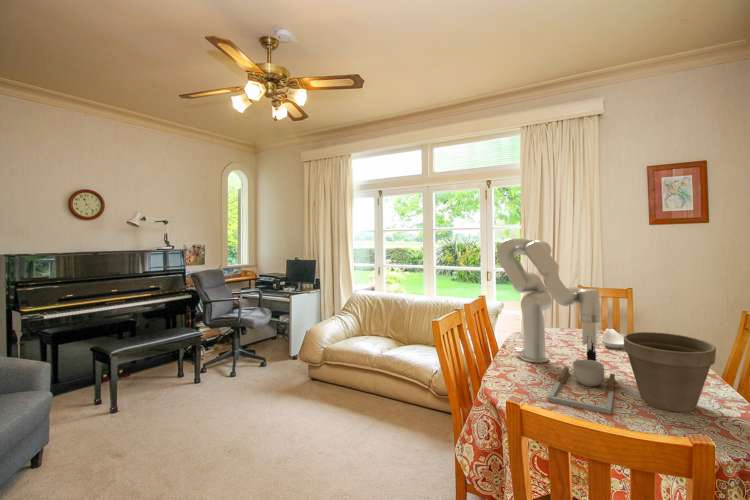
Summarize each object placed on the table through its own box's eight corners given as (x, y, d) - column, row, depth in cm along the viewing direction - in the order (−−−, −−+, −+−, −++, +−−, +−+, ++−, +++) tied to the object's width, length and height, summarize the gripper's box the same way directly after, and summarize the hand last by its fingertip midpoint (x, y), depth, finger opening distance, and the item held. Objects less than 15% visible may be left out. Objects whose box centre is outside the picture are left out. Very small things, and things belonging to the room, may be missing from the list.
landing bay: (547, 401, 132) (547, 397, 132) (556, 385, 145) (556, 381, 145) (610, 414, 121) (610, 409, 121) (613, 395, 134) (613, 391, 134)
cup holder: (558, 383, 147) (558, 377, 147) (564, 372, 159) (564, 366, 159) (612, 393, 137) (612, 386, 137) (614, 380, 149) (614, 374, 149)
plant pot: (726, 428, 110) (725, 355, 110) (626, 410, 123) (624, 345, 123) (707, 397, 131) (706, 336, 131) (623, 384, 144) (622, 329, 144)
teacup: (609, 389, 140) (608, 368, 140) (578, 388, 142) (577, 367, 142) (595, 376, 154) (594, 357, 154) (566, 375, 156) (566, 356, 156)
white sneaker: (630, 351, 186) (629, 337, 186) (602, 349, 191) (602, 335, 191) (619, 339, 208) (619, 327, 208) (595, 338, 213) (595, 325, 213)
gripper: (582, 314, 167) (583, 355, 167) (577, 320, 155) (579, 364, 155) (601, 315, 163) (603, 357, 163) (598, 321, 151) (600, 366, 151)
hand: (591, 360), depth 159 cm, fingers closed
